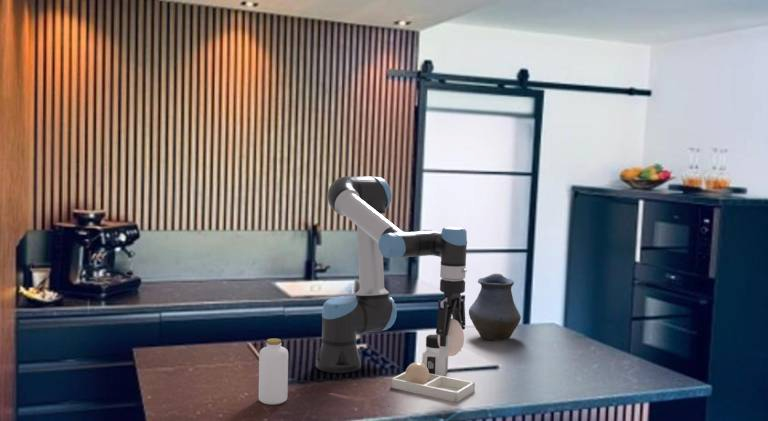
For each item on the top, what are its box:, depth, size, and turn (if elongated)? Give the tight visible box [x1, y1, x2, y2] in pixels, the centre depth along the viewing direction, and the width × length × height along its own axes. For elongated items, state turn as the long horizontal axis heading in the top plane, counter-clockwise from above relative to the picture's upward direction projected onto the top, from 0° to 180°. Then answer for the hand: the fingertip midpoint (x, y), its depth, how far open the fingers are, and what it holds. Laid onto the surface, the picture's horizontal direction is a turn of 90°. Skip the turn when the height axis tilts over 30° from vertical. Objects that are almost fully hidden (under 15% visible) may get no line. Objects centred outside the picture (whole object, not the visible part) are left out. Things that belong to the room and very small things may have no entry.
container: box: [421, 333, 449, 377], centre depth 244 cm, size 8×8×13 cm
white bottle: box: [258, 338, 289, 406], centre depth 213 cm, size 8×8×18 cm
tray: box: [390, 371, 476, 403], centre depth 225 cm, size 23×12×4 cm, turn 59°
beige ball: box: [405, 361, 429, 385], centre depth 228 cm, size 7×7×7 cm
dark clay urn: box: [468, 273, 522, 341], centre depth 293 cm, size 21×22×25 cm
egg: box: [438, 317, 465, 357], centre depth 221 cm, size 8×8×11 cm
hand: (450, 353), depth 222 cm, fingers closed on egg, 8 cm apart
